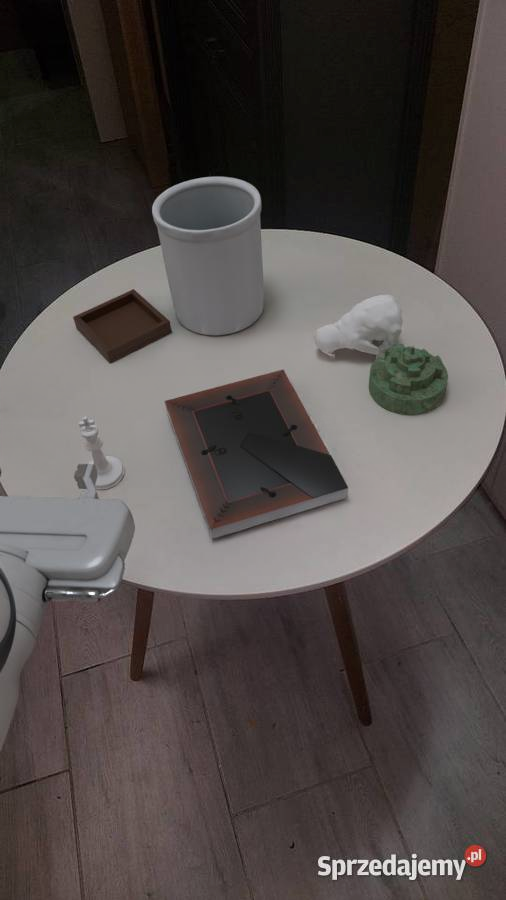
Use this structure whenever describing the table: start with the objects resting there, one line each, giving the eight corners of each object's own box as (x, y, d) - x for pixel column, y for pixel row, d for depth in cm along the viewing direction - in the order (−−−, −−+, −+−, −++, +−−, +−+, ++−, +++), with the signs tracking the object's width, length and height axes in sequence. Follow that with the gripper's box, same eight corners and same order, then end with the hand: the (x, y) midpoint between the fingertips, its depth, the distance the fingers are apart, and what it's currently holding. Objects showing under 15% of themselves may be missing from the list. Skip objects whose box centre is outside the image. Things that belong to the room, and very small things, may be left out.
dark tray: (110, 363, 98) (107, 352, 96) (76, 327, 104) (72, 316, 102) (172, 332, 102) (170, 321, 100) (136, 299, 108) (133, 288, 106)
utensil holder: (151, 308, 106) (130, 204, 93) (224, 268, 112) (213, 164, 99) (212, 352, 98) (198, 245, 85) (286, 306, 104) (284, 199, 91)
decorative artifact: (420, 355, 96) (355, 375, 94) (427, 314, 90) (359, 334, 88) (459, 401, 89) (390, 423, 87) (469, 360, 84) (396, 383, 82)
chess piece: (84, 462, 86) (62, 406, 78) (123, 455, 86) (105, 399, 79) (84, 493, 82) (62, 437, 75) (125, 485, 83) (107, 429, 75)
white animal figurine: (406, 310, 88) (314, 325, 89) (405, 360, 95) (319, 373, 95) (396, 282, 92) (308, 296, 93) (396, 331, 99) (313, 343, 100)
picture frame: (347, 499, 80) (283, 381, 93) (348, 486, 78) (283, 368, 92) (212, 541, 77) (167, 413, 91) (209, 528, 75) (164, 399, 89)
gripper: (107, 583, 52) (141, 447, 61) (-145, 572, 54) (-76, 442, 63) (124, 622, 57) (153, 490, 66) (-109, 611, 59) (-49, 484, 68)
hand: (40, 466), depth 64 cm, fingers open, 8 cm apart
